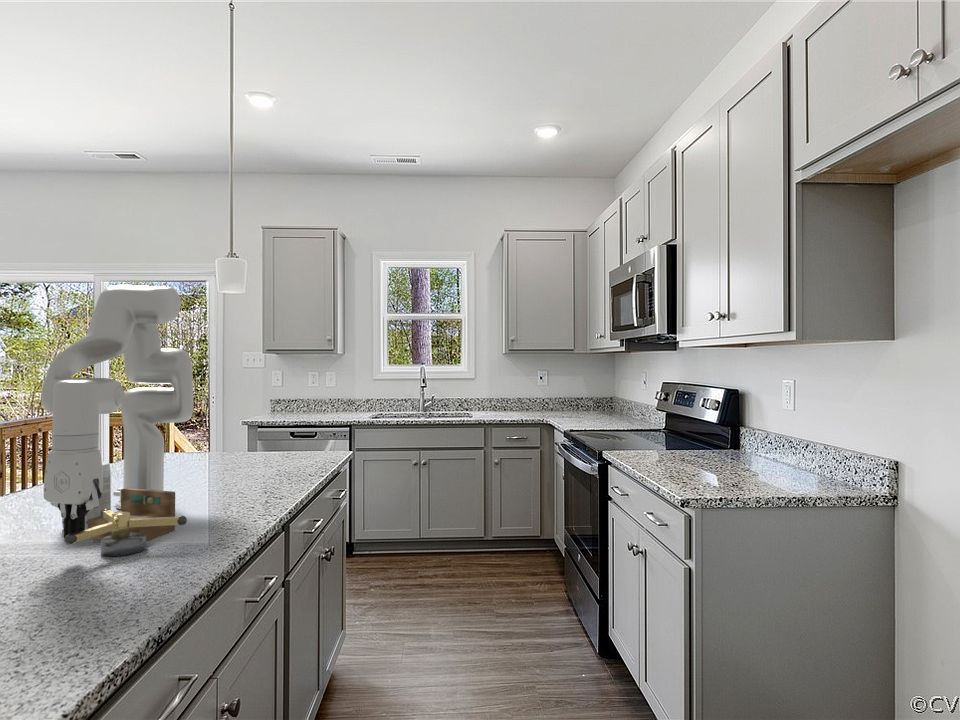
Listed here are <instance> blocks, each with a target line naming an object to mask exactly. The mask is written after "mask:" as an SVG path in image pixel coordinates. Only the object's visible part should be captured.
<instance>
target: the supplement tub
mask: <svg viewBox="0 0 960 720" xmlns="http://www.w3.org/2000/svg"><path fill="white" fill-rule="evenodd" d="M101 461H102V469H103V494H102V497H101V498H100V499H99V507H98V508H95V509H91V510H89V512H88V515H87V516H85V530H86V529H88V519H92V518H95V517H99V516H101V515H100V513H101V511H102V510H103V509H109V510H111V511H112V506H111V505H112V501H111V499H112V497H111V496H112V493H111V492H112V491H111V488H112V485H111V484H112V483H111V480H112V479H111V477H112V476H111V475H112V474H111V465H110V464H111V463H110V462H109V461H105V460H104V461H103V460H101ZM79 507H80V506H79ZM64 519H65V518H62V517H61V521H62V522H61V523H62V524H61V525H62V529H63V530H64Z"/></svg>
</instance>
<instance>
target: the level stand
mask: <svg viewBox="0 0 960 720" xmlns="http://www.w3.org/2000/svg"><path fill="white" fill-rule="evenodd" d="M122 488H123V487H122ZM119 512H130V519H139V518H159V517H176V491H170V490H169V491H168V490H164V491H159V490H146V489H134V488H123V489H121V509H119V510H116V511H114V513H119ZM106 523H110V522H108V521H107V520H105V519H104V518H102V517H101V516H99V517H95V518H92V519H88V529H89V528H93V527H96V526H100V525H103V524H106ZM173 531H174V532H175V531H176V525H166V526H147V527H130V532H140V533H145V534H146V542H148V541H150V540H154V539H157V538H159V537H162V536H165V535H168V534H171V533H173ZM170 532H171V533H170ZM110 535H112V531H110V532H107V533H104V534H101V535H98V536H94V537H91V538H90V539H94V540H95V539H96V540H101V539H102V538H104V537H107V536H110Z"/></svg>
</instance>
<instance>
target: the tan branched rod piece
mask: <svg viewBox="0 0 960 720" xmlns="http://www.w3.org/2000/svg"><path fill="white" fill-rule="evenodd" d="M114 512H115V511H114ZM114 512H113V511H112V509H111V510H109V509H103V510H102V511H101V513H100V515H101V517H102V518H104V519H105V520H107V521H108V522H110V523H106V524H103V525H100V526H96V527H93V528H89V529H86V530H83V531H79V532H76V533H73V534H72V533H71V534H68V535H66V536H65V538H64V537H63V541H64V543H65V544H66V545H69V546H71V545H74V544H75V543H78V542H81V541H85V540H88V539H92V538H91V537H94V536H98V535H101V534H104V533H107V532H110V531H112V535H110V536H107V537H104V538H102V539H100V554H101V555H102V556H105V557H120V556H128V555H133V554H137V553H140V552H143V551H144V550H145V549H147V541H146V534H145V533H140V532H130V527H147V526H166V525H175V526H184V525H186V524H187V522H188V518H187V517H186V516H185V515H180V516H175V517H159V518H139V519H130V512H119V513H114Z"/></svg>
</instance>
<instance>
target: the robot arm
mask: <svg viewBox="0 0 960 720" xmlns="http://www.w3.org/2000/svg"><path fill="white" fill-rule="evenodd" d="M181 308H182V301H181V296H180V293H179V292H178V291H177V290H176V289H175V288H174V287H171V286H156V285H154V286H153V285H152V286H150V285H133V284H117V285H111V286H108V287H105V289H103V291H101V293H99V296H98V298H97V301H96V304H95V307H94V310H93V313H92V316H91V319H90V321H89V325H88V328H87V332H86V334H85V335H84V336H83V337H82V338H80V339H78V340H76V341H75V342H74V343H72V344H71V345H69V346H67V347H66V348H65V349H64V350H62V351H61V352H59V354H58V355H57V356H56V357H55V358H54V359H53V360H52V361H51V363H50V365H49V367H48V369H47V372H46V374H45V375H46V376H45V377H44V382H43V383H42V387H41V391H40V392H41V393H40V402H41V405H42V407H43V408H44V410H45V411H46V412H49V413H51V414H52V424H51V425H52V429H51V430H52V432H51V433H52V437H51V438H52V439H51V444H52V445H51V450H49V452H48V455H47V459H46V463H45V470H44V480H43V499H44V500H45V501H46V502H47V503H50V505H51V506H52V507H55V508H57V509H58V510H59V511H60V516H61V519H62V518H65V519H64V529H63V539H64V538H65V536H66V535H68V534H71V533H72V534H73V533H76V532H79V531H83V530H85V516H87V515H88V512H89V510H91V509H95V508H98V507H99V499H100V498H101V497H102V494H103V469H102V461H103V460H102V456H101V451H100V449H99V429H100V428H99V425H100V424H99V422H100V420H99V419H100V417H99V416H100V415H109V414H112V413H114V412H116V411H118V410H119V409H120V412H121V417H122V418H121V420H122V424H123V425H122V426H123V477H122V478H123V481H122V482H123V485H122V487H118V488H117V490H115V491H114V492H113V494H112V495H113V496H114V497H120V498H119V500H118V501H117V502H116V503H115V508H117V509H118V510H121V489H123V488H134V489H146V490H159V491H165V490H164V485H165V483H164V478H165V474H164V473H165V438H164V436H163V434H162V432H161V431H160V429H158V427H157V426H156V425H155V424H172V423H173V424H175V423H186V422H188V421H190V419H191V418H192V416H193V413H194V409H195V408H194V407H195V406H194V402H195V401H194V383H193V382H194V379H193V378H194V377H193V376H194V375H193V363H192V358H191V356H190V354H189V353H188V352H187V351H186V350H185V349H181V348H163V347H162V346H161V337H160V329H159V327H158V325H163V324H167V323H169V322H171V321H174V320H175V319H176V318H177V317H178V316H179V314H180V311H181ZM121 355H123V361H124V372H125V377H126V379H127V380H128V381H130V382H132V383H134V384H143V385H144V384H146V385H147V384H149V385H150V384H151V385H154V384H155V385H170V386H171V387H158V386H157V387H154V386H153V387H152V386H151V387H143V386H142V387H135V388H134V387H133V388H130V389H128V390H126V391H125V390H124V388H123V386H122V384H121V383H120V382H119V381H118V380H115V379H113V378H108V377H74V376H75V375H76V374H77V373H79V372H80V371H82V370H84V369H86V368H88V367H91V366H94V365H96V364H99V363H103V362H105V361H109V360H111V359H114V358H117V357H120V356H121ZM79 506H80V507H79Z"/></svg>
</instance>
